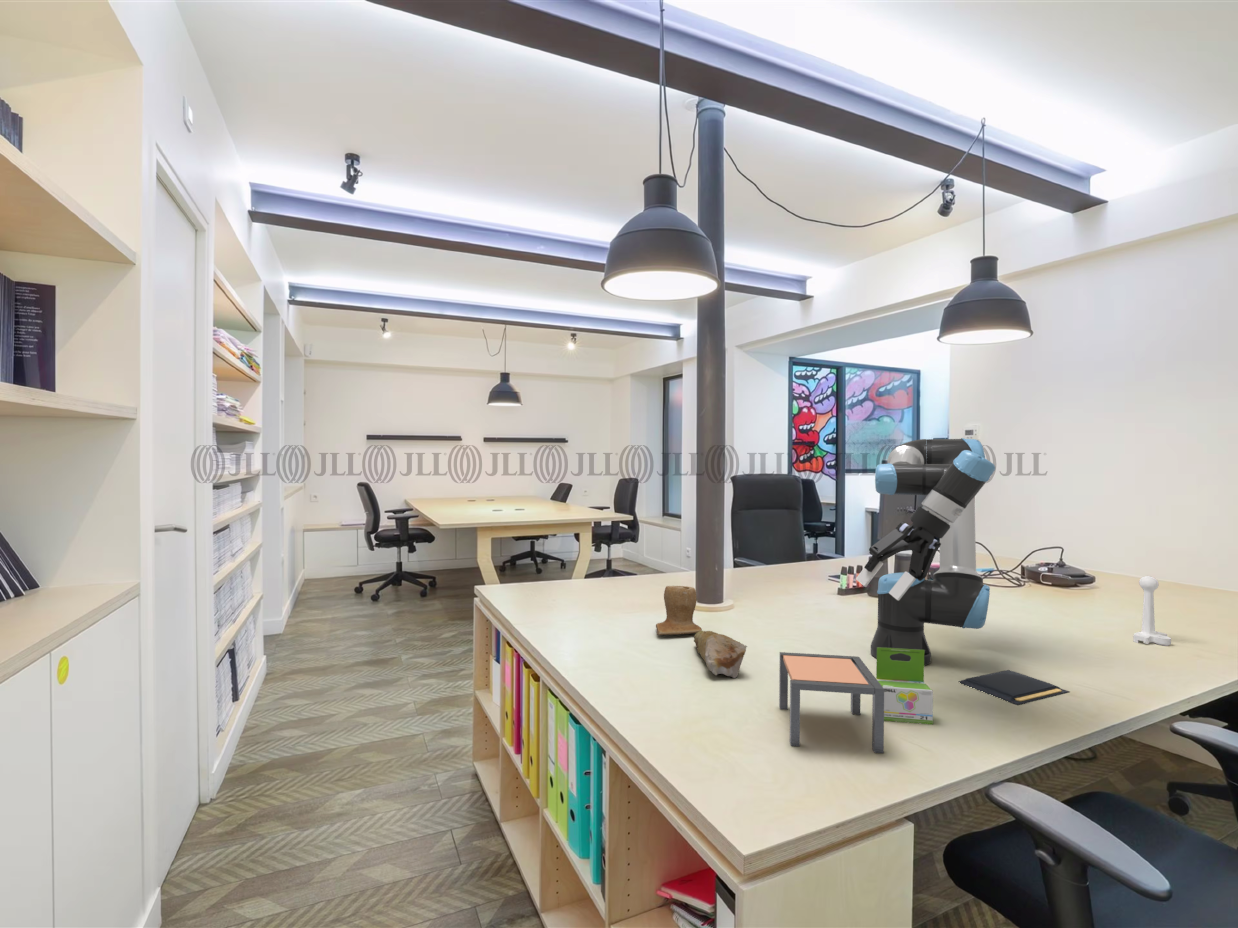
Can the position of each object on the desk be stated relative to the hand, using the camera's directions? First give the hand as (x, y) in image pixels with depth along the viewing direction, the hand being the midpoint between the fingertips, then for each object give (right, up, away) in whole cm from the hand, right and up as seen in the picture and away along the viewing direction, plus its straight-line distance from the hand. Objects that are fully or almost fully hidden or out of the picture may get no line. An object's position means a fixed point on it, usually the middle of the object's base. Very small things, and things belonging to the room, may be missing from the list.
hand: (877, 590), depth 131 cm
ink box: (+1, -25, -9) cm, 27 cm away
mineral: (-34, -25, +24) cm, 48 cm away
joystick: (+104, -26, +43) cm, 116 cm away
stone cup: (-41, -25, +50) cm, 69 cm away
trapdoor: (-18, -13, -15) cm, 26 cm away
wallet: (+36, -26, +7) cm, 45 cm away
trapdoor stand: (-18, -25, -15) cm, 34 cm away
